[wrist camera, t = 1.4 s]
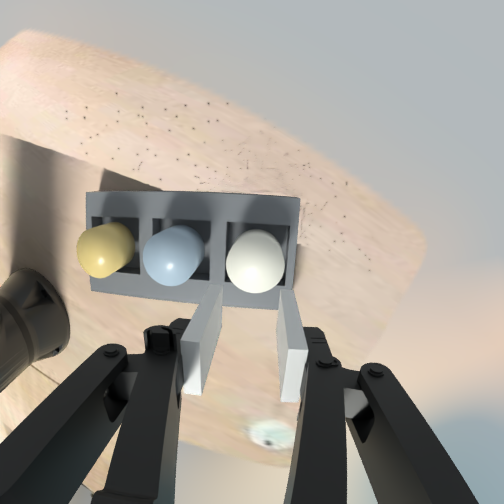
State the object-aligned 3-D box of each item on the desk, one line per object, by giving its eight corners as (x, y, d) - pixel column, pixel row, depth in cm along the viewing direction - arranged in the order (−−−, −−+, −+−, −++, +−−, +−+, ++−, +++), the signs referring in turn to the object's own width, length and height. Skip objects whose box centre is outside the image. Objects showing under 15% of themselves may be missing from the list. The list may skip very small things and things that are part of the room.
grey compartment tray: (102, 283, 35) (91, 290, 32) (98, 191, 32) (85, 192, 29) (287, 300, 34) (289, 310, 32) (297, 197, 32) (300, 198, 29)
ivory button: (230, 276, 31) (225, 291, 27) (232, 227, 30) (227, 234, 26) (279, 279, 31) (281, 294, 27) (283, 230, 30) (287, 238, 25)
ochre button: (98, 264, 32) (78, 275, 27) (96, 221, 30) (75, 227, 26) (136, 268, 31) (119, 280, 27) (134, 222, 30) (116, 228, 26)
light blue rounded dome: (158, 270, 31) (143, 283, 27) (158, 223, 30) (142, 230, 26) (204, 274, 31) (195, 288, 27) (205, 226, 30) (195, 233, 26)
